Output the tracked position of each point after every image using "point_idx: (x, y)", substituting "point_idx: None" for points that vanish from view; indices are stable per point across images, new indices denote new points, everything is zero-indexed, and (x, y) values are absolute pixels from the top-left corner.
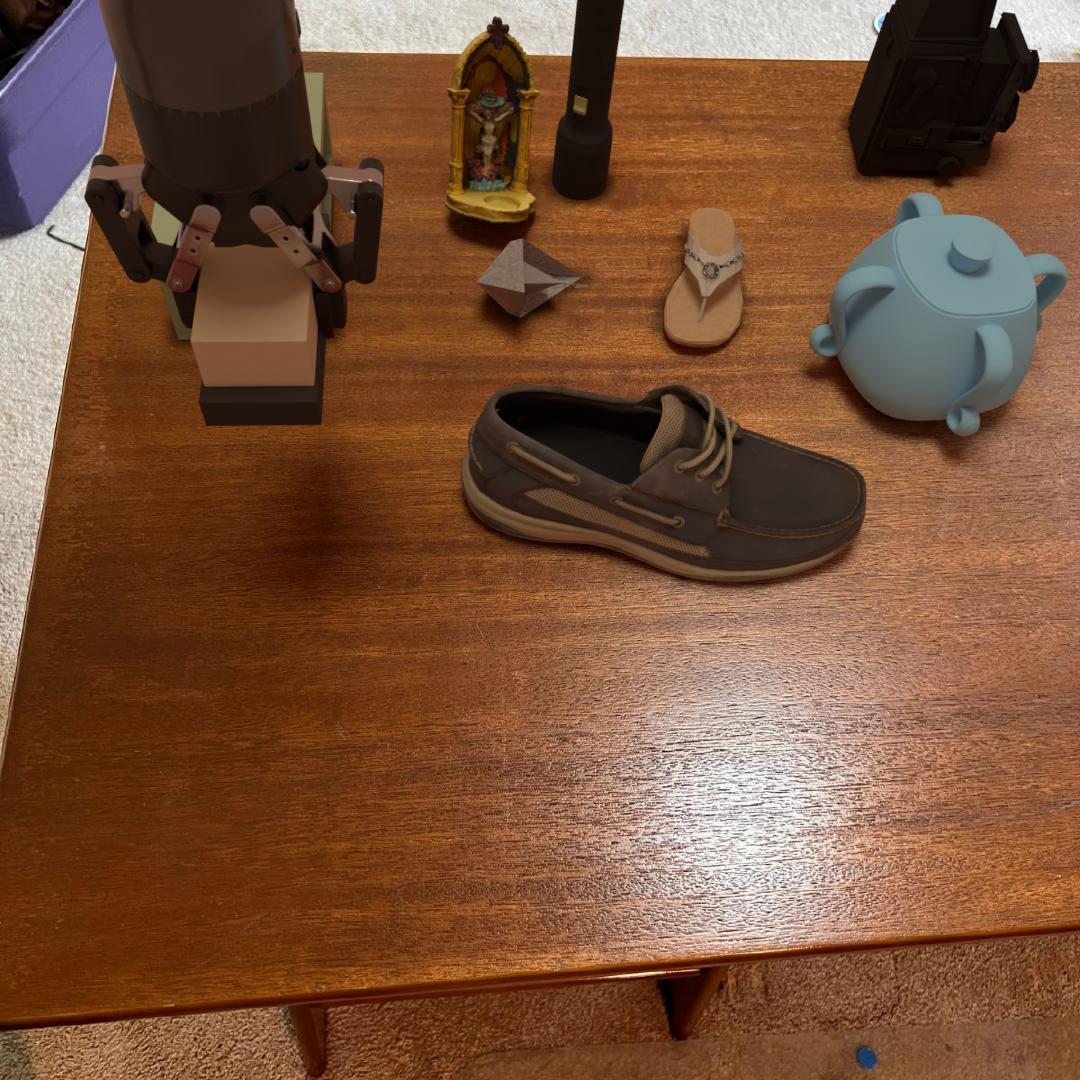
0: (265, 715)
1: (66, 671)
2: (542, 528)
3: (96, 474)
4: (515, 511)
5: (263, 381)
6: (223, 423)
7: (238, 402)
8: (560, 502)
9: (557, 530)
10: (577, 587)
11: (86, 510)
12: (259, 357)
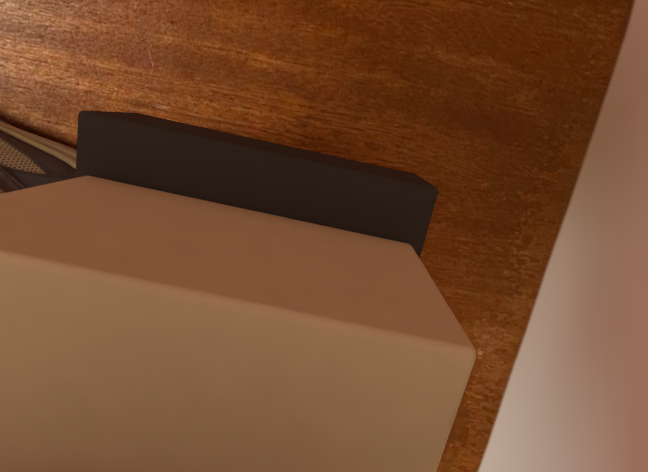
0: (380, 12)
1: (559, 114)
2: (54, 147)
3: (491, 325)
4: (74, 168)
5: (229, 211)
6: (374, 165)
7: (321, 165)
8: (2, 150)
9: (38, 141)
10: (43, 85)
11: (507, 288)
12: (182, 242)
